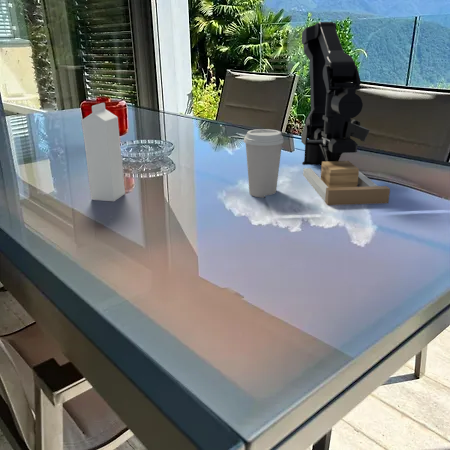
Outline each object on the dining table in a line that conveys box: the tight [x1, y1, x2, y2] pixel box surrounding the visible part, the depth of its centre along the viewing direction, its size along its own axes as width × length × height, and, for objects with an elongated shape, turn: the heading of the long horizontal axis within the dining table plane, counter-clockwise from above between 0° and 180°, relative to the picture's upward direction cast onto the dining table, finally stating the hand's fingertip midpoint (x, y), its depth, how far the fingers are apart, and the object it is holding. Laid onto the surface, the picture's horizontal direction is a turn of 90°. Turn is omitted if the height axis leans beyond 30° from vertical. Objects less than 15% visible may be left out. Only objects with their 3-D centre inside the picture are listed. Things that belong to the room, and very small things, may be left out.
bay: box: [302, 167, 391, 206], centre depth 114 cm, size 24×14×4 cm, turn 4°
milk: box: [81, 102, 126, 202], centre depth 107 cm, size 6×6×22 cm
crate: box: [320, 160, 360, 188], centre depth 116 cm, size 8×7×5 cm
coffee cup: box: [243, 128, 285, 199], centre depth 110 cm, size 10×10×15 cm
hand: (331, 171), depth 122 cm, fingers closed
